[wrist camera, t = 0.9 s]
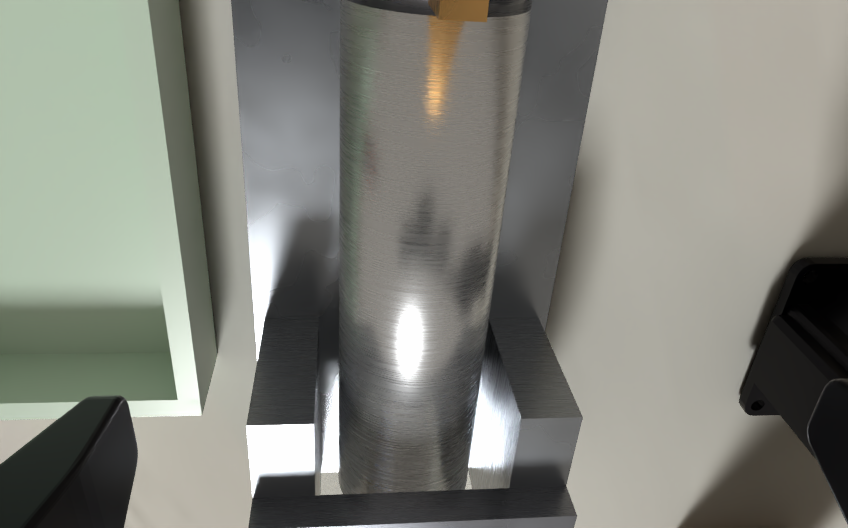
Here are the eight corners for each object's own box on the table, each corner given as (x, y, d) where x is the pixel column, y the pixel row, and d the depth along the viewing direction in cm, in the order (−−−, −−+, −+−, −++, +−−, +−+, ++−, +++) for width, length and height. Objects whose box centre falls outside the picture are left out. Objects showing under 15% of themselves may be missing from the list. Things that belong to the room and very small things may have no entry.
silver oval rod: (515, -66, 16) (592, -39, 11) (456, 425, 23) (485, 568, 18) (340, -78, 15) (340, -54, 10) (338, 429, 23) (338, 577, 18)
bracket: (611, -100, 16) (753, -84, 11) (513, 445, 25) (562, 608, 20) (229, -128, 15) (163, -127, 10) (268, 452, 24) (246, 627, 19)
